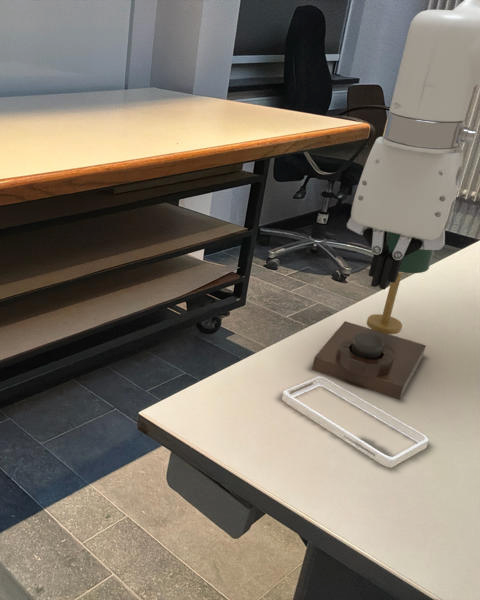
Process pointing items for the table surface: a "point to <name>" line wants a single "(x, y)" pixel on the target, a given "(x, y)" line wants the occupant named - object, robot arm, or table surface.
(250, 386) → the table surface
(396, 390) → the lamp base
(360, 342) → the lamp switch
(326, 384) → the phone case
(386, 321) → the lamp
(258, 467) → the table surface
